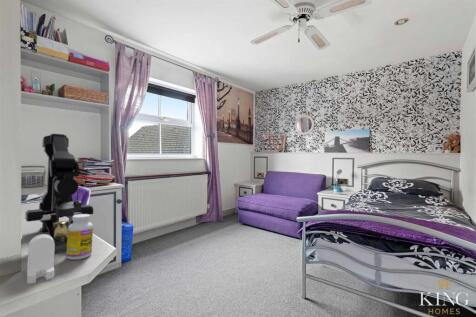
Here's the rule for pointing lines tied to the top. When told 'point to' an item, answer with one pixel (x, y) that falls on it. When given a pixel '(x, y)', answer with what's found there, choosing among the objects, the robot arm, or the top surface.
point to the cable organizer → (40, 258)
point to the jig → (60, 246)
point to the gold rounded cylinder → (60, 231)
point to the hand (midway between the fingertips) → (60, 236)
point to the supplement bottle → (79, 237)
